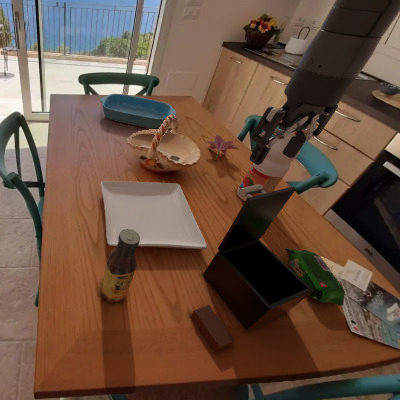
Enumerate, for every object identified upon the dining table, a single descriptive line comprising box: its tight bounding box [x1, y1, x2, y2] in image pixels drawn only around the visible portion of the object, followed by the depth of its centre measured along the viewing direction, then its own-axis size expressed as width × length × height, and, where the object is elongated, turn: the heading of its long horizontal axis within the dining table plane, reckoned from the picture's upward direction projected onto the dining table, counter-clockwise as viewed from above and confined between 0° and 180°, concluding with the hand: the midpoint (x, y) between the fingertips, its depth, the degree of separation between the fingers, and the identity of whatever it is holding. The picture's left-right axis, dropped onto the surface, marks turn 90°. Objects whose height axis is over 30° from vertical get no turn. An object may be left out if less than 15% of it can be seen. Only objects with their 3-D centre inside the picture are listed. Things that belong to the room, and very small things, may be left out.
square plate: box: [100, 180, 208, 250], centre depth 81 cm, size 27×27×4 cm
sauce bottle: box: [100, 229, 140, 303], centre depth 57 cm, size 7×6×20 cm
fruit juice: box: [236, 130, 301, 202], centre depth 84 cm, size 9×9×28 cm
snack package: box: [284, 247, 346, 306], centre depth 67 cm, size 7×16×5 cm, turn 177°
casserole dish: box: [100, 93, 177, 130], centre depth 132 cm, size 37×22×7 cm, turn 71°
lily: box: [204, 134, 240, 160], centre depth 109 cm, size 12×12×10 cm
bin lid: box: [217, 184, 297, 251], centre depth 60 cm, size 16×13×6 cm
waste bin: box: [202, 239, 314, 331], centre depth 62 cm, size 15×13×10 cm
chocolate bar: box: [190, 304, 236, 353], centre depth 57 cm, size 8×4×2 cm, turn 20°
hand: (271, 159), depth 51 cm, fingers open, 8 cm apart
